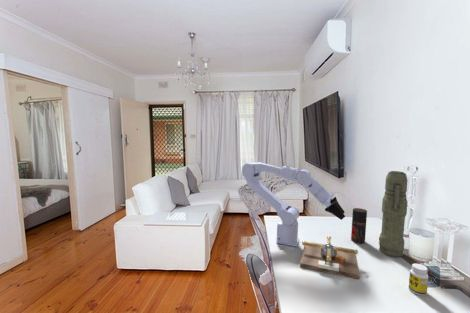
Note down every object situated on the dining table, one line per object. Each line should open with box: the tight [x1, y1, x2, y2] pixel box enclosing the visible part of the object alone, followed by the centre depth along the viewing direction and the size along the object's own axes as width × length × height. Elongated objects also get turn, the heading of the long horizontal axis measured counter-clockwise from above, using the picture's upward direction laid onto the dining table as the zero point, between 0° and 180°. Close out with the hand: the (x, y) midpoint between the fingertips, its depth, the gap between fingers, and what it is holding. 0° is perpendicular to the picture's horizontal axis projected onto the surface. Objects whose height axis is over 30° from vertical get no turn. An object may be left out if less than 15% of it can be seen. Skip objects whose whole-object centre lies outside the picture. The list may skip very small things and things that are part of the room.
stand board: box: [299, 243, 360, 280], centre depth 97 cm, size 20×20×2 cm
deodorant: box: [350, 207, 368, 244], centre depth 114 cm, size 6×6×15 cm
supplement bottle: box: [408, 263, 429, 297], centre depth 78 cm, size 5×5×8 cm
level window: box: [318, 260, 339, 272], centre depth 88 cm, size 7×3×2 cm, turn 69°
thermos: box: [378, 170, 409, 258], centre depth 102 cm, size 9×12×35 cm
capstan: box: [301, 235, 359, 264], centre depth 97 cm, size 21×21×4 cm
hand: (343, 215), depth 101 cm, fingers open, 7 cm apart
